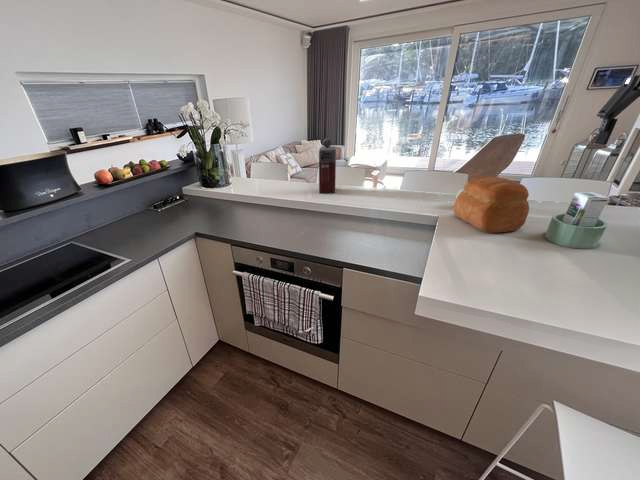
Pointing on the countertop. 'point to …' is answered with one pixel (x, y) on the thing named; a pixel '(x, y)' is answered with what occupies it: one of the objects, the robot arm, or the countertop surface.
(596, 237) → the crock
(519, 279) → the countertop surface
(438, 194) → the countertop surface
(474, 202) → the bread
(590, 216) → the syrup box
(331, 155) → the glass liquor decanter
